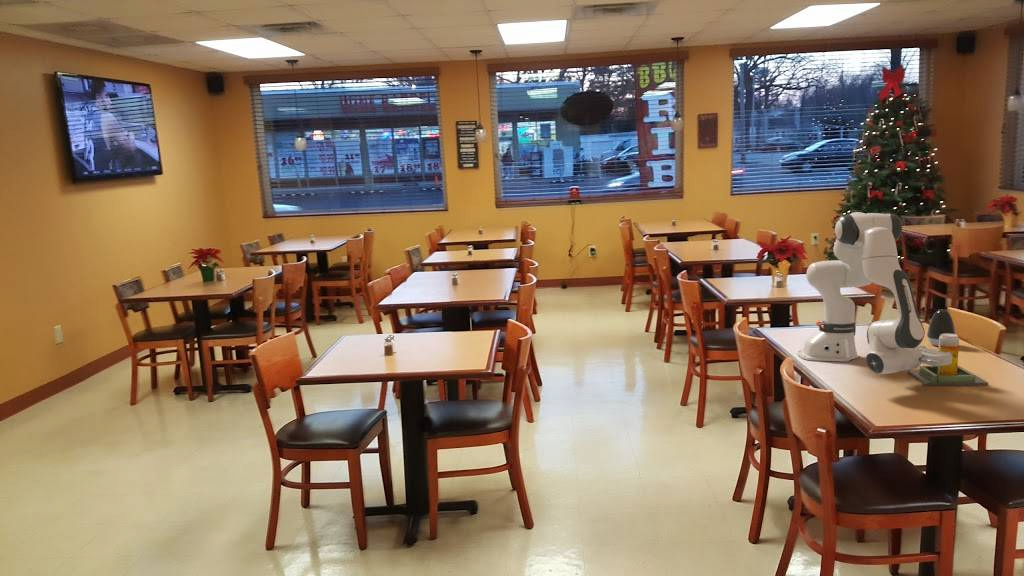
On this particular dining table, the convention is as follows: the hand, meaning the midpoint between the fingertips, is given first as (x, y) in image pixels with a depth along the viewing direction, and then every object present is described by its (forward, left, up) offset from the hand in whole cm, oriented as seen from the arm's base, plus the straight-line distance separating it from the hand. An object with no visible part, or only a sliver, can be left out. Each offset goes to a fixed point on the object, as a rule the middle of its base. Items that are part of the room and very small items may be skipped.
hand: (936, 351), depth 257 cm
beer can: (+5, +3, -10) cm, 12 cm away
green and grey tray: (+5, +3, -11) cm, 13 cm away
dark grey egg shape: (+23, +51, -11) cm, 57 cm away
